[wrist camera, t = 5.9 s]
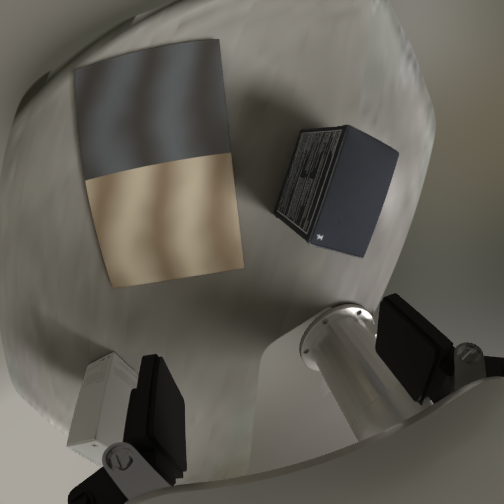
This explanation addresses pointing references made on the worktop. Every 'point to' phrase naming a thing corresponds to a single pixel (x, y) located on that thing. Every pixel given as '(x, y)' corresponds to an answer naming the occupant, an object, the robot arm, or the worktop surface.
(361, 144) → the small box
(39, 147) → the worktop surface
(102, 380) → the skincare box
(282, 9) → the worktop surface
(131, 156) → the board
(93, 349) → the worktop surface
